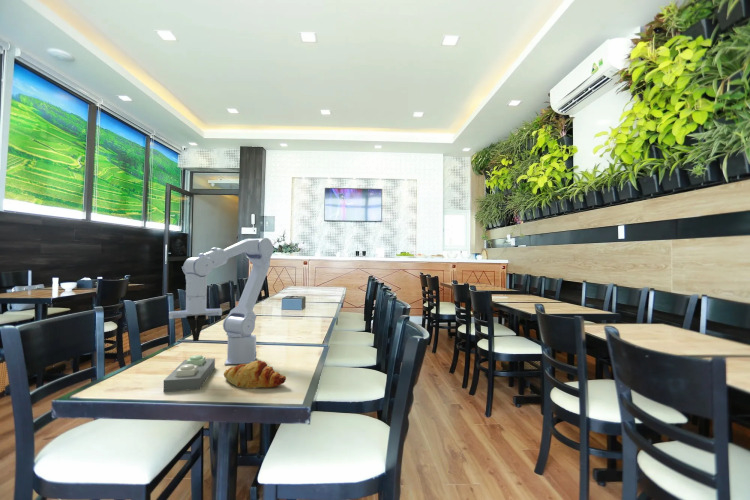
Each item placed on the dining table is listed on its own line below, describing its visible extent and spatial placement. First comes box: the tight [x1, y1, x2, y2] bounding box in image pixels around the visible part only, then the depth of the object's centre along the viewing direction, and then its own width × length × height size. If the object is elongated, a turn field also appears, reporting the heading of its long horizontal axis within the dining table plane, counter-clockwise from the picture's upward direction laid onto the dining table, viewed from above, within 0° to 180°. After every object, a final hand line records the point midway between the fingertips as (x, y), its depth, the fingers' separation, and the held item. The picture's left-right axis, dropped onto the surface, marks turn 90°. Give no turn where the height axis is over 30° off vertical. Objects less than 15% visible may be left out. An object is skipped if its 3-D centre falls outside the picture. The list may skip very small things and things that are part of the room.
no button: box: [176, 364, 198, 377], centre depth 103 cm, size 4×4×4 cm
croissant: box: [223, 359, 287, 389], centre depth 104 cm, size 21×10×8 cm, turn 71°
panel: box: [163, 357, 216, 393], centre depth 108 cm, size 9×20×3 cm, turn 13°
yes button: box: [186, 354, 206, 366], centre depth 113 cm, size 4×4×4 cm
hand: (195, 340), depth 112 cm, fingers closed
